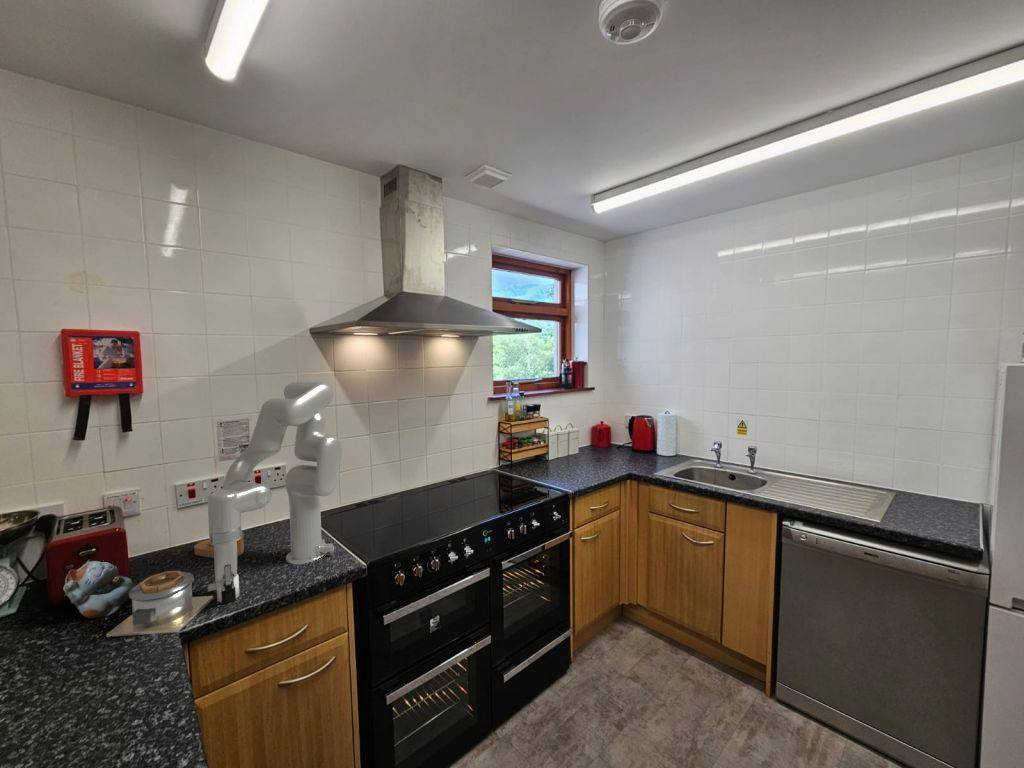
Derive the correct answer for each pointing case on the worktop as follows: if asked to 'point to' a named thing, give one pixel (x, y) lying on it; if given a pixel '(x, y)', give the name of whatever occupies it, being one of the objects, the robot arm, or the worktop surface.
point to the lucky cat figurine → (97, 588)
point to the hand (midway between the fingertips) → (228, 597)
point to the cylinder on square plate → (161, 605)
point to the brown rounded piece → (208, 550)
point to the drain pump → (219, 587)
